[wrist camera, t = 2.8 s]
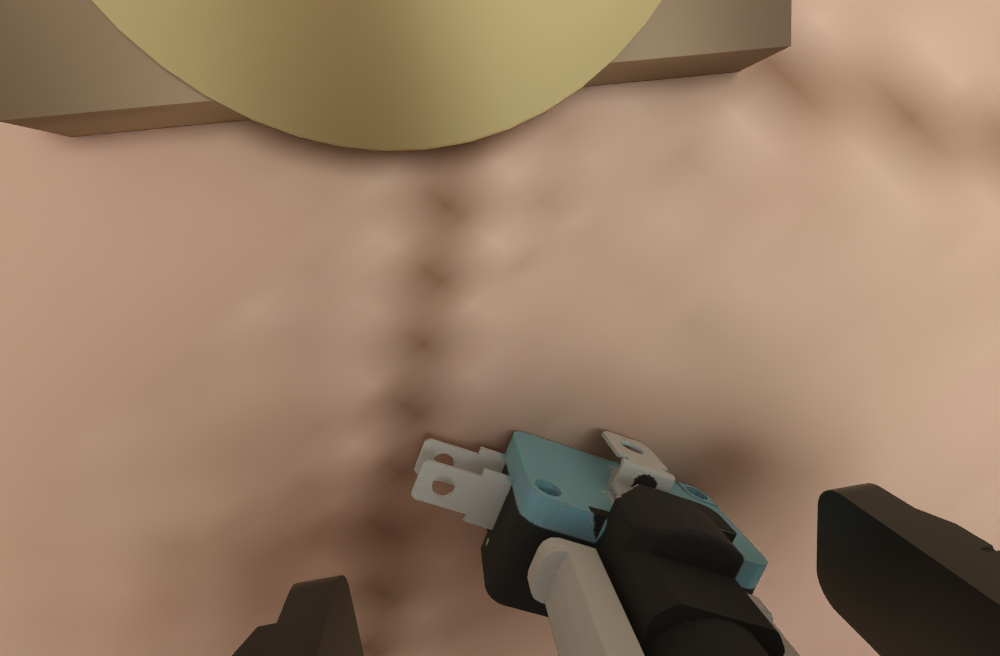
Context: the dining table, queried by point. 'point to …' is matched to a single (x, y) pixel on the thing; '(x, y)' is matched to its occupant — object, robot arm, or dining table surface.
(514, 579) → the push button
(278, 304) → the dining table surface
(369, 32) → the gauge board
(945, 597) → the robot arm
